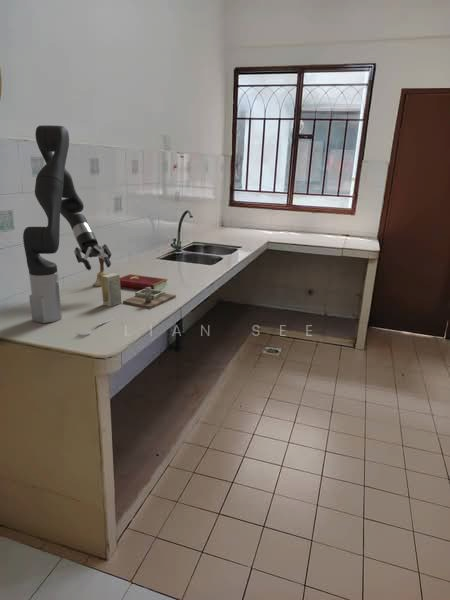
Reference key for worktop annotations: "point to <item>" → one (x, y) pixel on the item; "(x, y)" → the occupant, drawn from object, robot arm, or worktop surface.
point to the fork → (94, 328)
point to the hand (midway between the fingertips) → (99, 267)
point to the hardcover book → (142, 282)
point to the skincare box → (111, 289)
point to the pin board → (148, 305)
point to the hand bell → (100, 273)
